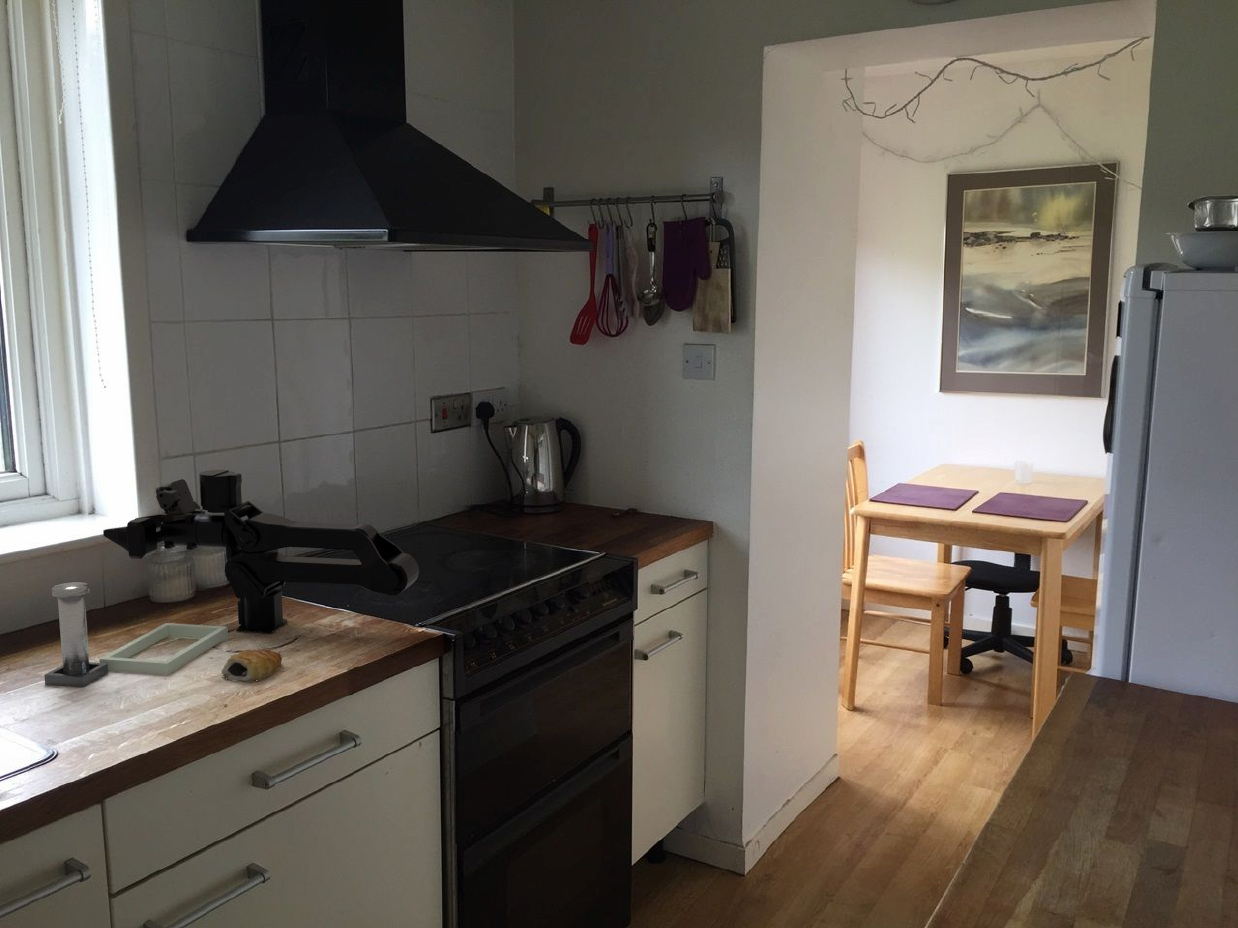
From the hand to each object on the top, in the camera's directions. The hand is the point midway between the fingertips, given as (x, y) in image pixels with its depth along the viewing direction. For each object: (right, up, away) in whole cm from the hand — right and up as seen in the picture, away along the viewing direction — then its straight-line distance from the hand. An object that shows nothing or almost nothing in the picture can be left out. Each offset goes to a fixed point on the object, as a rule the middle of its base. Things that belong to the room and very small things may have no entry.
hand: (119, 526), depth 189 cm
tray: (+15, -20, -16) cm, 30 cm away
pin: (+7, -21, -28) cm, 36 cm away
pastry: (+31, -21, -23) cm, 44 cm away
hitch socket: (+7, -22, -28) cm, 36 cm away
